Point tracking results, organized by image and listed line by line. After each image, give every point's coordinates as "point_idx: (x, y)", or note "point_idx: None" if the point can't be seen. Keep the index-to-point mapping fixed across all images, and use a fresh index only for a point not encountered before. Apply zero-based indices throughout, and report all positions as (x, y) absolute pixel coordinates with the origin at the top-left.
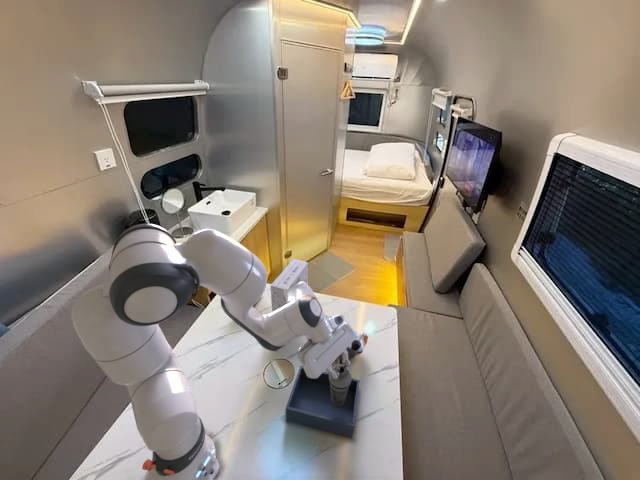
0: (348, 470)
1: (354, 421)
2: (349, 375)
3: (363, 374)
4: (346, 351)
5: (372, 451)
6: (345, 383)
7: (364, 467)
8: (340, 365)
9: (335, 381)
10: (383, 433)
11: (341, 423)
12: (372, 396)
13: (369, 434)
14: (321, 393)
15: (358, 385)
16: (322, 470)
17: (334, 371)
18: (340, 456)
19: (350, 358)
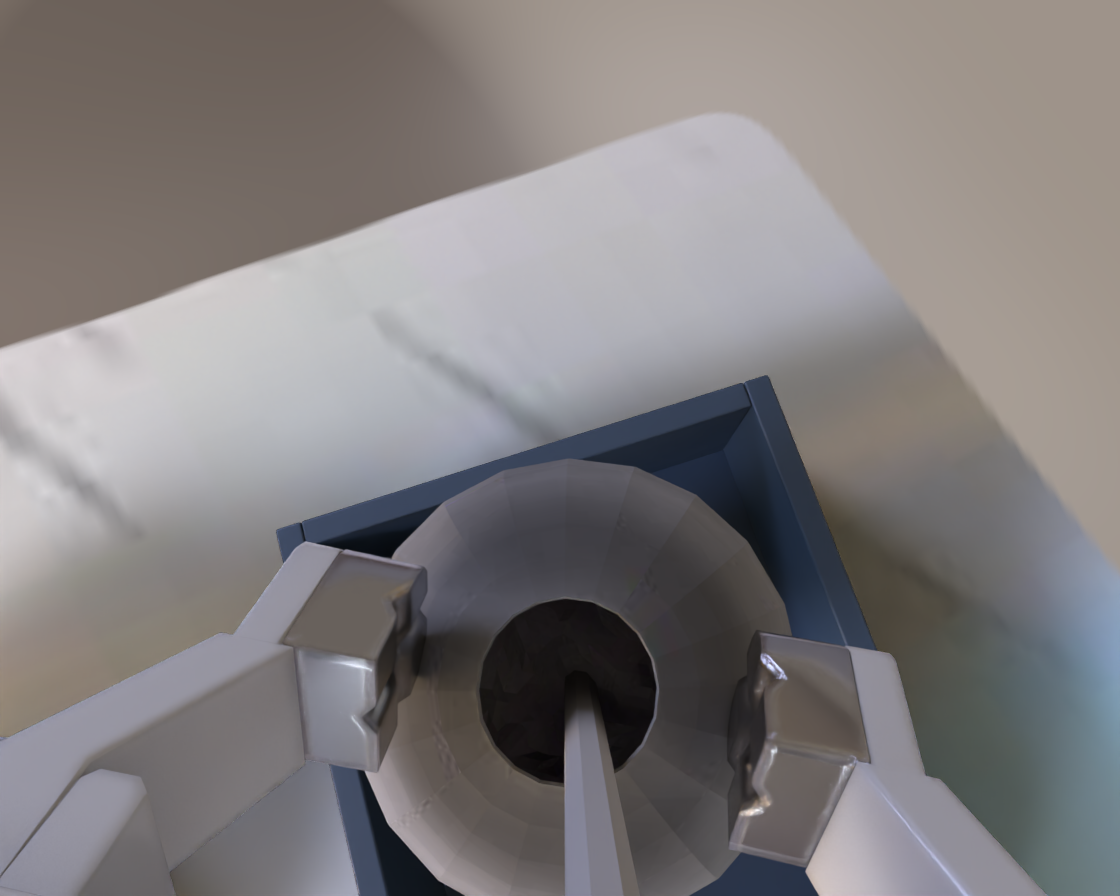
0: (928, 368)
1: (720, 393)
2: (531, 484)
3: (152, 578)
4: (4, 785)
5: (717, 274)
6: (697, 499)
7: (842, 283)
8: (448, 764)
9: None
10: (558, 250)
11: (813, 494)
12: (322, 425)
13: (622, 333)
14: None
15: (346, 514)
16: (1053, 529)
17: (901, 802)
18: (889, 455)
19: None
